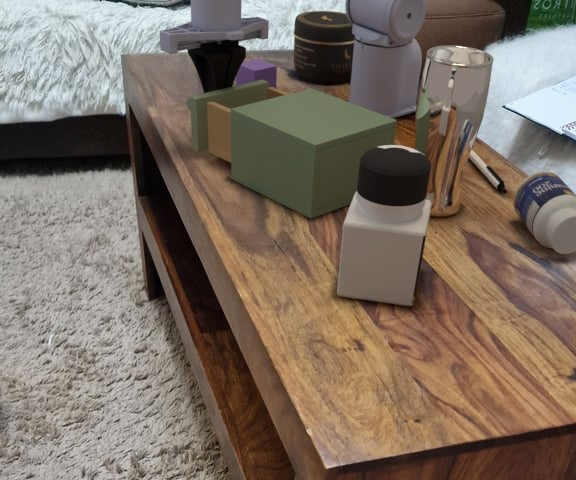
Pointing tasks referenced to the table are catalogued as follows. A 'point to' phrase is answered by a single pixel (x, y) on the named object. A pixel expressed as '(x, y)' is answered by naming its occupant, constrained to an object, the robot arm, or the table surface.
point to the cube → (257, 72)
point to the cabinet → (305, 148)
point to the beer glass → (450, 118)
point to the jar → (323, 47)
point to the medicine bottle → (386, 227)
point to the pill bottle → (548, 210)
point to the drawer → (223, 114)
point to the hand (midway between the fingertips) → (216, 111)
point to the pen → (488, 172)
